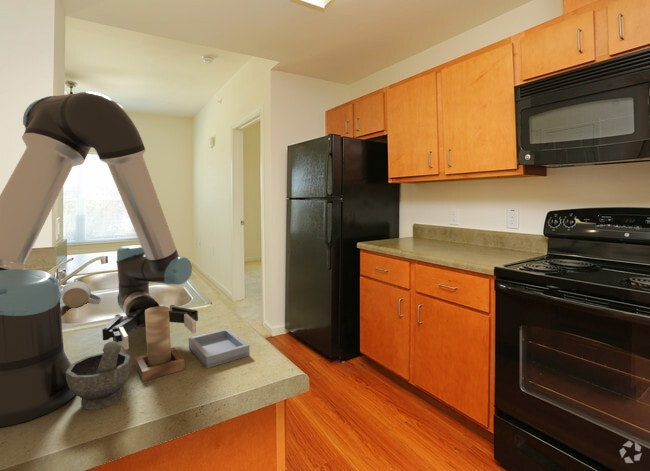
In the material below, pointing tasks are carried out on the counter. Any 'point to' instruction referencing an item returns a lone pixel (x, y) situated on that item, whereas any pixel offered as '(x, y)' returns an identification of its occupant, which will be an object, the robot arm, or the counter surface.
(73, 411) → the counter surface
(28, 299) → the robot arm
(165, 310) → the dowel
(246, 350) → the tray
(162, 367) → the socket block
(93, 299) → the ceramic mug
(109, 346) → the mortar and pestle
